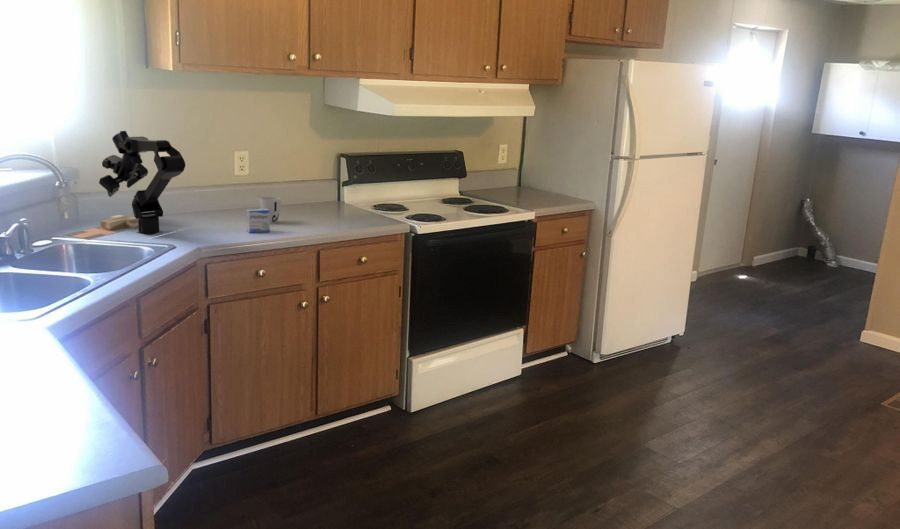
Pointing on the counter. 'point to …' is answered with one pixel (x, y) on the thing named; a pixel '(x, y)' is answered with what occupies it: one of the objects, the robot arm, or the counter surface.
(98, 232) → the mat
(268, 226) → the medicine box
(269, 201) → the cup
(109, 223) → the t block
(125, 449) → the counter surface
